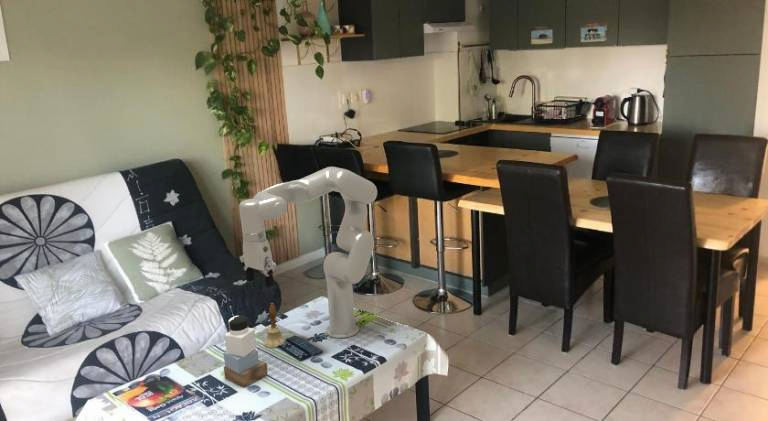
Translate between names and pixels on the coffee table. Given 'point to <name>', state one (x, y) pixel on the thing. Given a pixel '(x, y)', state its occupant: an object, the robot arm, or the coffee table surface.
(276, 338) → the hand bell
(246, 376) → the block base
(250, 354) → the block top
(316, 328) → the coffee table surface
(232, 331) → the medicine bottle
